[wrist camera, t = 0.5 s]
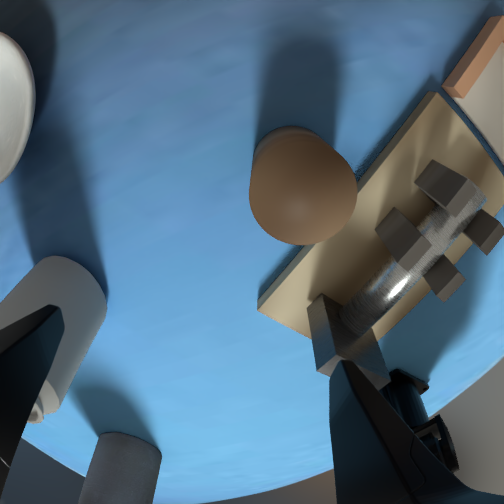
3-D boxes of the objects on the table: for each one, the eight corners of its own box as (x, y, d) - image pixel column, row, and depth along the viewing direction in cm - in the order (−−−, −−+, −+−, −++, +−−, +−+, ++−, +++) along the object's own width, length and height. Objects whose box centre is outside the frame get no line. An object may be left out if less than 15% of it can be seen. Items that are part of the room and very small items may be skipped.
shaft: (479, 202, 18) (529, 240, 13) (355, 335, 23) (372, 394, 18) (439, 154, 17) (494, 184, 12) (306, 307, 22) (316, 370, 17)
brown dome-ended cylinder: (346, 157, 19) (378, 185, 13) (299, 215, 21) (312, 262, 15) (282, 110, 18) (292, 118, 12) (237, 173, 20) (227, 208, 14)
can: (62, 232, 22) (-34, 334, 11) (128, 299, 24) (68, 423, 14) (27, 279, 24) (-47, 370, 13) (83, 334, 27) (30, 437, 16)
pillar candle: (160, 467, 41) (145, 548, 27) (101, 449, 40) (79, 527, 26) (164, 443, 36) (145, 541, 23) (95, 422, 35) (65, 515, 22)
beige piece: (504, 186, 19) (547, 213, 14) (351, 351, 26) (364, 399, 22) (428, 91, 16) (476, 97, 11) (257, 300, 24) (256, 353, 19)
